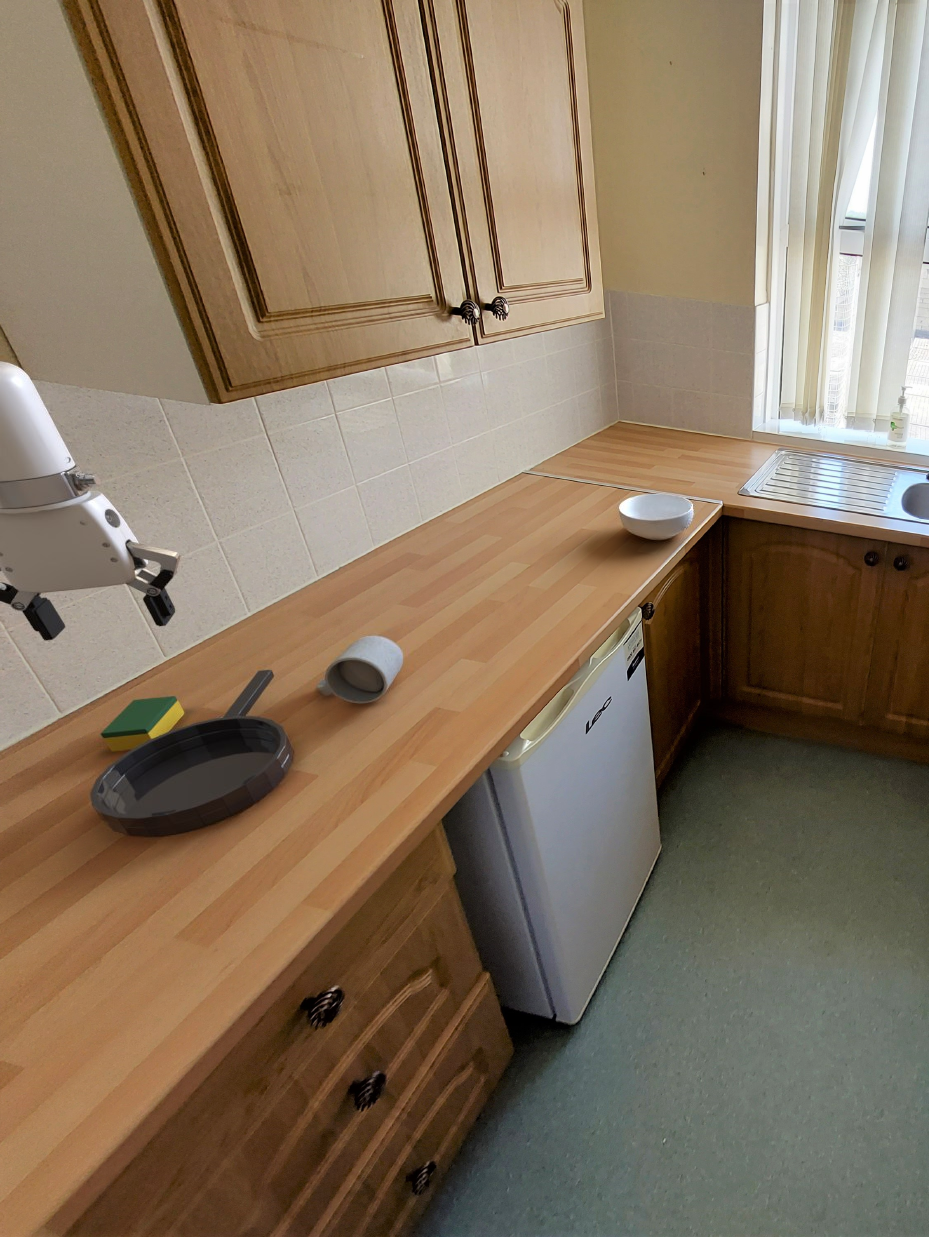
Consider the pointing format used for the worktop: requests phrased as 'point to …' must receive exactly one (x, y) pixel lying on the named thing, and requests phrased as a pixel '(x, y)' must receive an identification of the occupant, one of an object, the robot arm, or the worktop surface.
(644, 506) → the cereal bowl
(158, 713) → the sponge
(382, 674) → the ceramic mug
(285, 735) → the pan
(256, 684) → the pan handle
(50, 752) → the worktop surface
